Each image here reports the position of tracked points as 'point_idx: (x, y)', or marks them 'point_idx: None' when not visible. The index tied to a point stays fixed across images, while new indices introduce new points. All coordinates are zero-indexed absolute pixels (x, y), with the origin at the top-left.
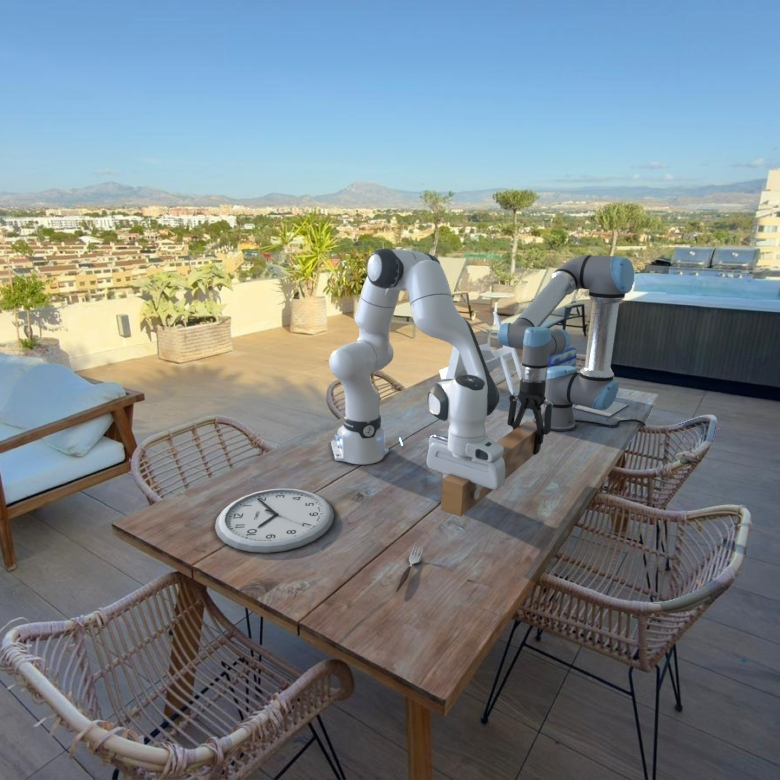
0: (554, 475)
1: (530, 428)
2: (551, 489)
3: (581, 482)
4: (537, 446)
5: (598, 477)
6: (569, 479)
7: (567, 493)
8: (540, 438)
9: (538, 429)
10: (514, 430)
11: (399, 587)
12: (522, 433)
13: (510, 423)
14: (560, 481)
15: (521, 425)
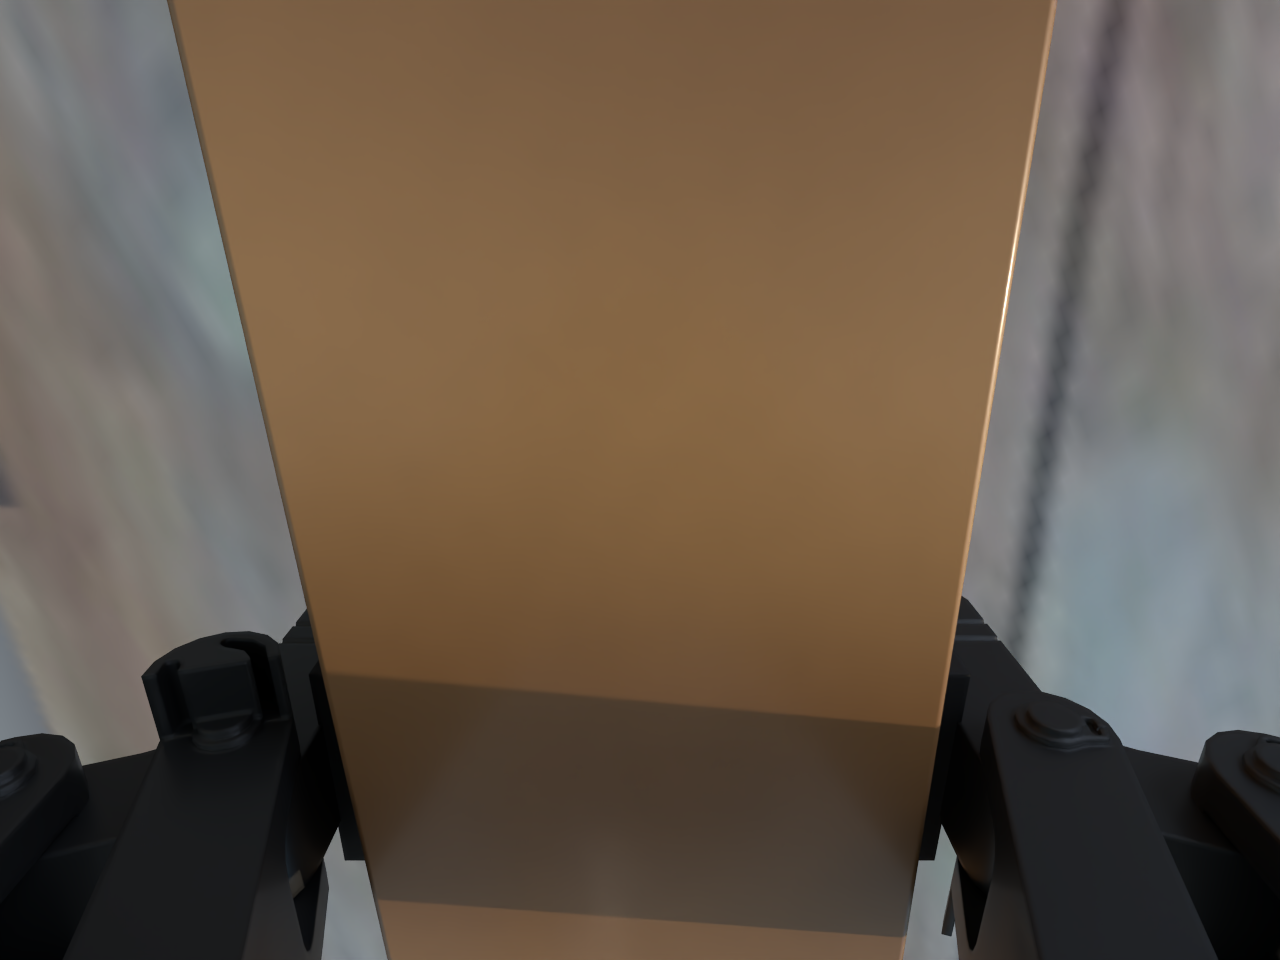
0: None
1: (558, 831)
2: (188, 176)
3: (87, 538)
4: None
5: (54, 718)
6: (200, 527)
7: (17, 202)
8: (292, 666)
9: (212, 818)
10: (948, 339)
11: None
12: (541, 227)
13: (1253, 792)
14: (234, 430)
15: (881, 879)
